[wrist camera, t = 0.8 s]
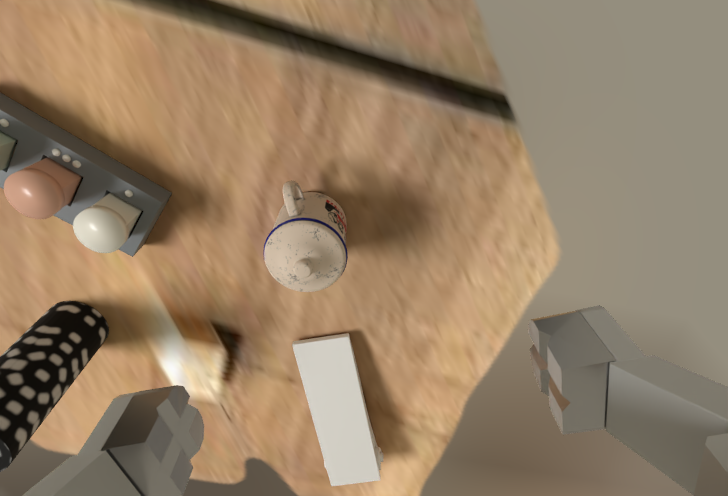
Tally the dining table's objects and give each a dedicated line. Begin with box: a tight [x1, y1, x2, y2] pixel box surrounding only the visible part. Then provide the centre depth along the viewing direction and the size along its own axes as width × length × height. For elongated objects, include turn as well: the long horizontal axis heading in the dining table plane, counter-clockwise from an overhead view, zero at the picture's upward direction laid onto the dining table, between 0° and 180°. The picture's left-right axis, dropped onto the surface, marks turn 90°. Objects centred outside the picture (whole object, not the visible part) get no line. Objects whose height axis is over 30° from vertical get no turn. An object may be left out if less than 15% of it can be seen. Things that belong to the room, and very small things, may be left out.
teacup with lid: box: [264, 181, 347, 292], centre depth 49 cm, size 12×9×12 cm
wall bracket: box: [292, 333, 383, 486], centre depth 69 cm, size 10×7×28 cm
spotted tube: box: [0, 301, 109, 472], centre depth 53 cm, size 8×8×20 cm
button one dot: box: [73, 192, 142, 253], centre depth 49 cm, size 5×5×5 cm
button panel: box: [0, 93, 172, 257], centre depth 50 cm, size 21×9×3 cm, turn 54°
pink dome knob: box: [4, 157, 82, 219], centre depth 47 cm, size 5×5×5 cm
